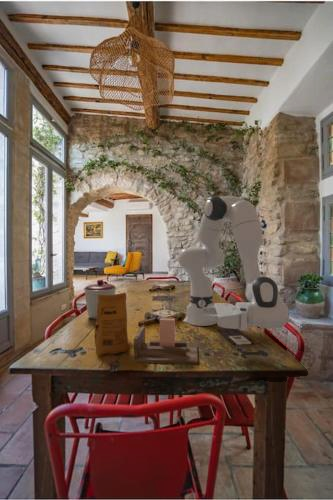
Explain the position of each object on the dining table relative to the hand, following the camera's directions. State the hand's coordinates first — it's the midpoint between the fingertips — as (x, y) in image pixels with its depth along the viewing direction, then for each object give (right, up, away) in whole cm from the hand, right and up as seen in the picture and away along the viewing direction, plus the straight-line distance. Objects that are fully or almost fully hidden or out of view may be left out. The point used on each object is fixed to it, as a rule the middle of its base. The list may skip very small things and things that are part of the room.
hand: (203, 313), depth 102 cm
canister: (-51, -15, +54) cm, 75 cm away
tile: (-13, -14, +1) cm, 19 cm away
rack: (-13, -15, +1) cm, 20 cm away
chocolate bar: (+17, -16, +20) cm, 30 cm away
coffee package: (-35, -16, +5) cm, 39 cm away
